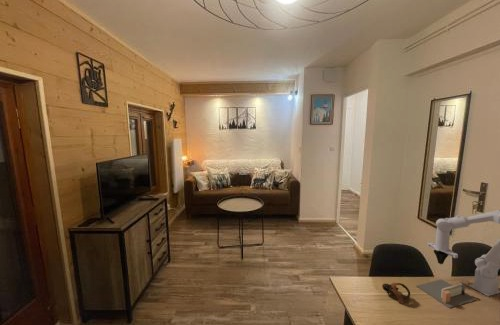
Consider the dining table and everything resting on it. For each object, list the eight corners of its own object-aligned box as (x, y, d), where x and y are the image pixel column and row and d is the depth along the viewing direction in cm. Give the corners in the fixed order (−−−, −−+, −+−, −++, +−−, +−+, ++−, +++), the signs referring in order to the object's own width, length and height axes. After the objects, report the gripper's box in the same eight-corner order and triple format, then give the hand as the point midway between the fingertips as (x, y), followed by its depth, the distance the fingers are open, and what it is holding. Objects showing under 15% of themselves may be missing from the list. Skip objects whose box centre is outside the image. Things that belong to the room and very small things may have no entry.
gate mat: (441, 279, 124) (441, 279, 124) (476, 300, 109) (476, 299, 109) (416, 286, 120) (416, 285, 120) (449, 308, 105) (449, 307, 104)
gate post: (460, 292, 114) (461, 281, 114) (465, 294, 112) (466, 284, 112) (457, 293, 114) (458, 282, 113) (462, 295, 112) (463, 285, 111)
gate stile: (446, 299, 109) (447, 290, 109) (450, 301, 108) (450, 292, 107) (441, 300, 109) (442, 291, 108) (445, 303, 107) (446, 293, 107)
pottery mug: (402, 291, 117) (410, 284, 113) (406, 310, 110) (414, 303, 105) (378, 282, 120) (384, 275, 115) (380, 300, 113) (387, 293, 108)
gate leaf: (458, 292, 113) (459, 283, 113) (461, 293, 112) (462, 284, 112) (441, 297, 110) (441, 288, 110) (443, 299, 109) (444, 289, 109)
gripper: (423, 236, 128) (422, 257, 130) (451, 248, 114) (449, 272, 116) (432, 234, 130) (431, 255, 132) (461, 245, 116) (459, 269, 118)
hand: (440, 263), depth 124 cm, fingers closed
